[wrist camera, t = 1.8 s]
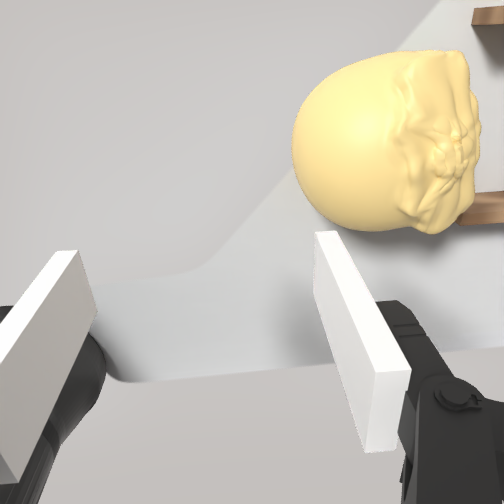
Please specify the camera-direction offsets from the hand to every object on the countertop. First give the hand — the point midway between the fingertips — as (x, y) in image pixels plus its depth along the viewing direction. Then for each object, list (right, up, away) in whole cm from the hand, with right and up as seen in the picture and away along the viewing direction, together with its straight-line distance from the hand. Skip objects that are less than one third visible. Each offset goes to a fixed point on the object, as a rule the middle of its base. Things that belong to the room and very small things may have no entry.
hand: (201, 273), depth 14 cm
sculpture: (+10, +10, +17) cm, 23 cm away
